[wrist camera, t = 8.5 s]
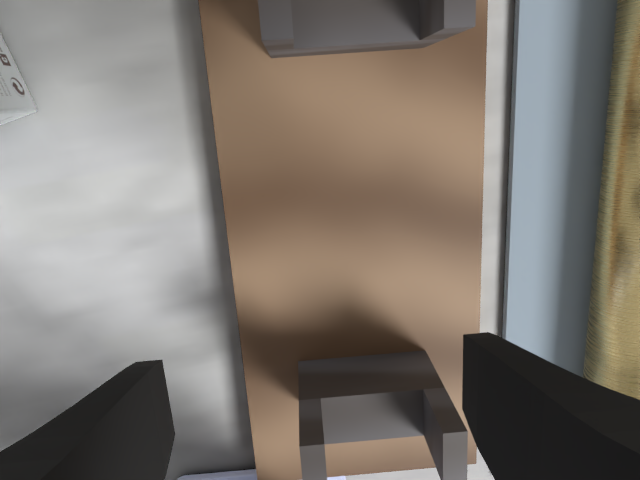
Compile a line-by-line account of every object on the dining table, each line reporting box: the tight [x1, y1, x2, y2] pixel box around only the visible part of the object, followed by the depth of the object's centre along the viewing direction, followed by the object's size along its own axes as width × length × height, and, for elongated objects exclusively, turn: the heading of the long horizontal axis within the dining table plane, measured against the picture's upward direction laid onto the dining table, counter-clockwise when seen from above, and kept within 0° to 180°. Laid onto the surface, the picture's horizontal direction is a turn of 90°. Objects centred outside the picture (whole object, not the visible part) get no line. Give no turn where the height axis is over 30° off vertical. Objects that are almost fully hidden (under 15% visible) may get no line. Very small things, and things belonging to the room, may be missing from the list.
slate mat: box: [502, 0, 618, 377], centre depth 20 cm, size 28×9×1 cm, turn 4°
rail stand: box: [198, 0, 488, 480], centre depth 17 cm, size 24×10×6 cm, turn 4°
